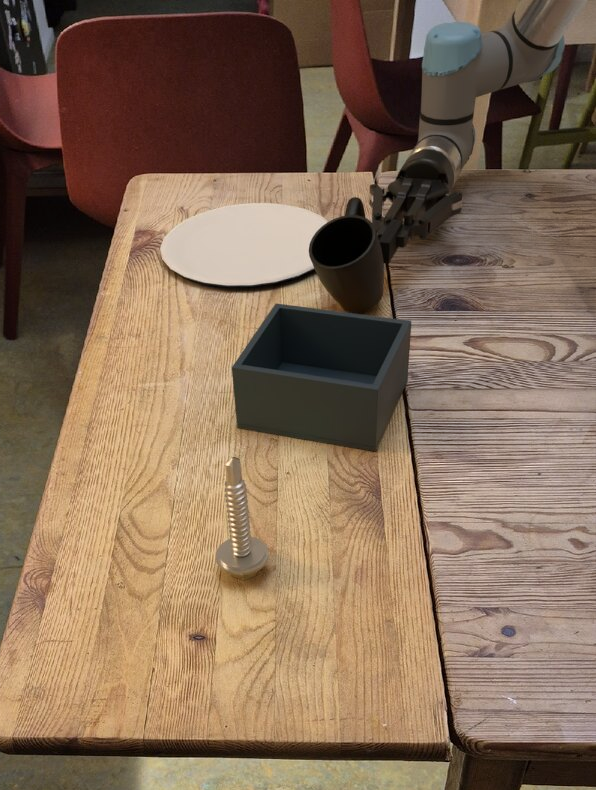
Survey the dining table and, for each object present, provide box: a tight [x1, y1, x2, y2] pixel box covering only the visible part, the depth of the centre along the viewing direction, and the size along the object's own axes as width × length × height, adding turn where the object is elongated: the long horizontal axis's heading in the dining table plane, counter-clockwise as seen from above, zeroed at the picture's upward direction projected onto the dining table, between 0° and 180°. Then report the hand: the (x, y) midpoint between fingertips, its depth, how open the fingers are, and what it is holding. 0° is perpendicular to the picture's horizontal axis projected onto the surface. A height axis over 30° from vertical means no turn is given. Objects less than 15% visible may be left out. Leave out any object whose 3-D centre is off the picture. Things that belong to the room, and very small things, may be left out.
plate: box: [159, 202, 329, 288], centre depth 130 cm, size 25×25×1 cm
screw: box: [215, 456, 270, 581], centre depth 81 cm, size 13×5×5 cm
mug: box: [309, 196, 385, 314], centre depth 113 cm, size 8×12×10 cm
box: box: [231, 303, 412, 452], centre depth 100 cm, size 14×16×8 cm
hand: (383, 252), depth 114 cm, fingers closed
